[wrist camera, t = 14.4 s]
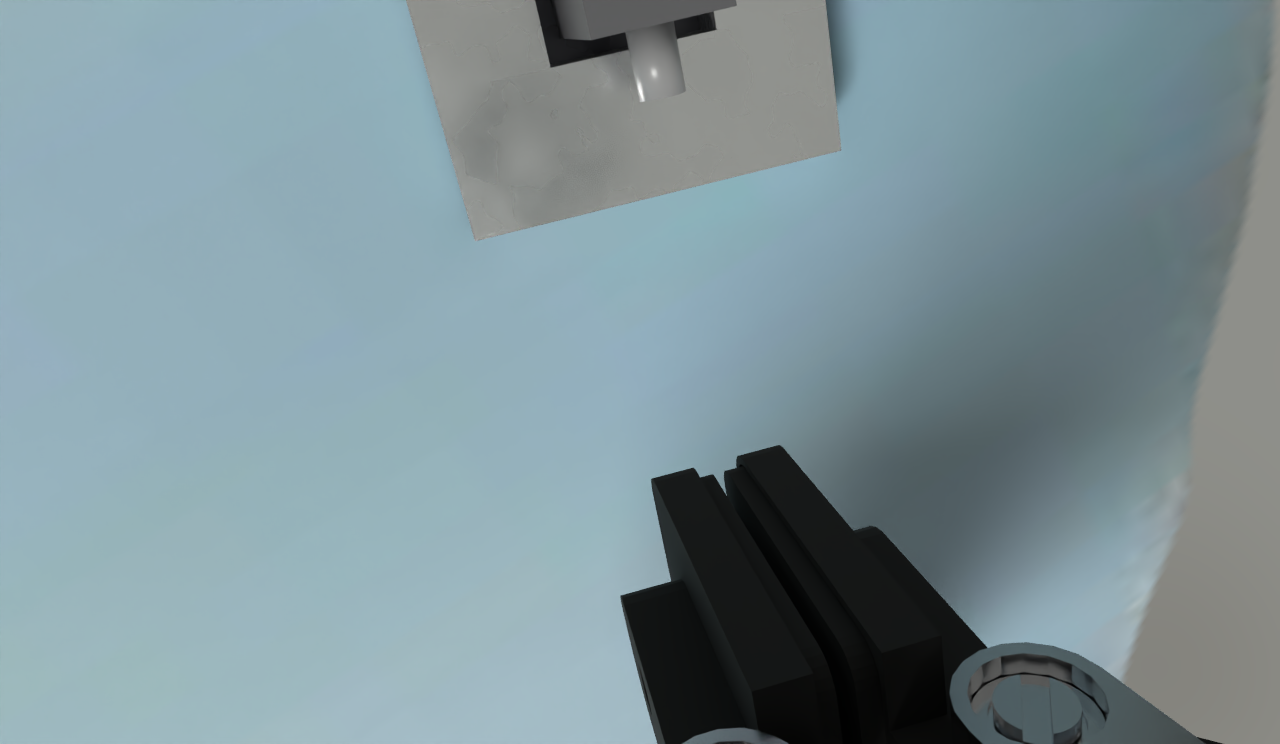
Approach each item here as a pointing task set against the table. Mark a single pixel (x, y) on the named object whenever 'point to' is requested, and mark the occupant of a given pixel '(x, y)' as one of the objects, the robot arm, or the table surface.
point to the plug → (638, 35)
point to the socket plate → (618, 105)
